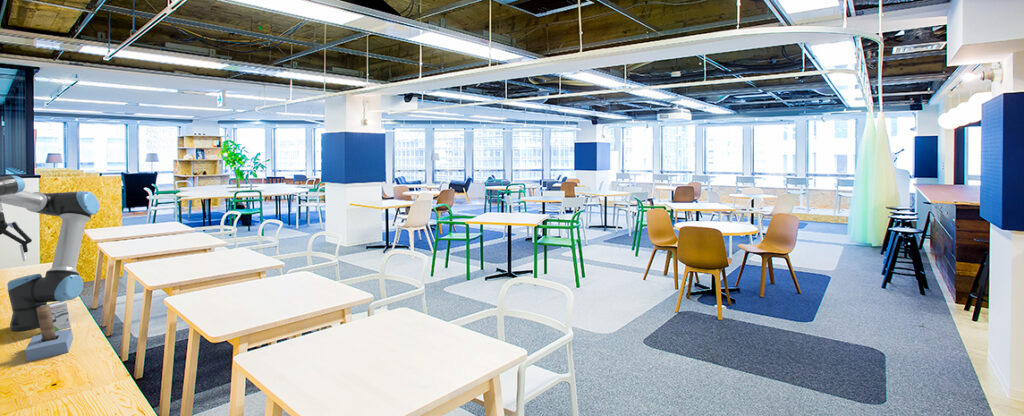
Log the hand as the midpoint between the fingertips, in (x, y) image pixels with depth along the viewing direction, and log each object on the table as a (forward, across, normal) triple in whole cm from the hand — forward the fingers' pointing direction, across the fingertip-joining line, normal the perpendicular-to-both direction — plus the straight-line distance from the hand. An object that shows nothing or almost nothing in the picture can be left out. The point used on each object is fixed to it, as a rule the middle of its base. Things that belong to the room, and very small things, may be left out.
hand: (1, 263), depth 203 cm
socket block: (+35, +11, -18) cm, 40 cm away
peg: (+35, +11, -18) cm, 40 cm away
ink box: (+36, +11, +12) cm, 39 cm away
